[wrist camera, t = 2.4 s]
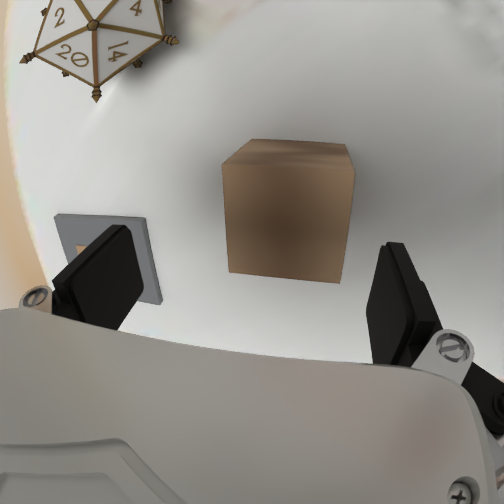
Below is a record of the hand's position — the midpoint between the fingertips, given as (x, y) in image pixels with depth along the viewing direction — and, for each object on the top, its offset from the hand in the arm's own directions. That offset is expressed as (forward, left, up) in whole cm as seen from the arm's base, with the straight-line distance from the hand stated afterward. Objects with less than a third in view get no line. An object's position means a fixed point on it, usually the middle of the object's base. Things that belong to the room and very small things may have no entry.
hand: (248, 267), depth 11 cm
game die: (+9, -11, -9) cm, 17 cm away
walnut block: (-1, 0, -9) cm, 9 cm away
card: (+15, +7, -9) cm, 19 cm away
